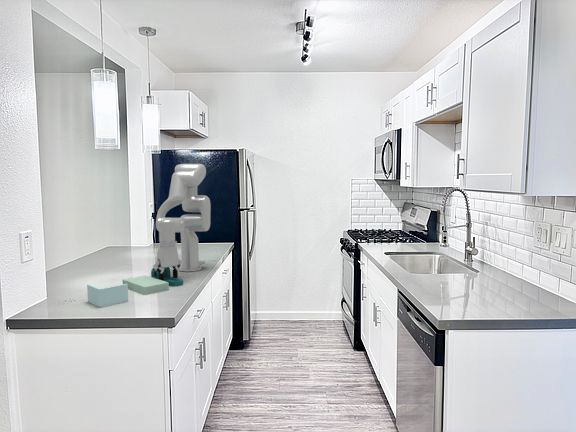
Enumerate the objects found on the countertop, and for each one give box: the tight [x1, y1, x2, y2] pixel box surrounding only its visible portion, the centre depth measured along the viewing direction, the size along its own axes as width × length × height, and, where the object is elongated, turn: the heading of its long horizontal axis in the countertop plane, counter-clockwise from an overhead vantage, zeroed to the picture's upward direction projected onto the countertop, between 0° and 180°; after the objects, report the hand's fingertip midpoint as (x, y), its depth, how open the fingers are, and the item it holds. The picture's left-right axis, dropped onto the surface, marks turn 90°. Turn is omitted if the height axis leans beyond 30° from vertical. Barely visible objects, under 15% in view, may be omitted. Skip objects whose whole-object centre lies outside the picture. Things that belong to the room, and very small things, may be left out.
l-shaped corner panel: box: [86, 283, 129, 308], centre depth 184 cm, size 12×12×8 cm
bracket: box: [150, 267, 184, 287], centre depth 215 cm, size 18×7×8 cm, turn 55°
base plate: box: [122, 275, 170, 296], centre depth 205 cm, size 12×22×4 cm, turn 46°
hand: (168, 279), depth 215 cm, fingers closed on bracket, 7 cm apart
